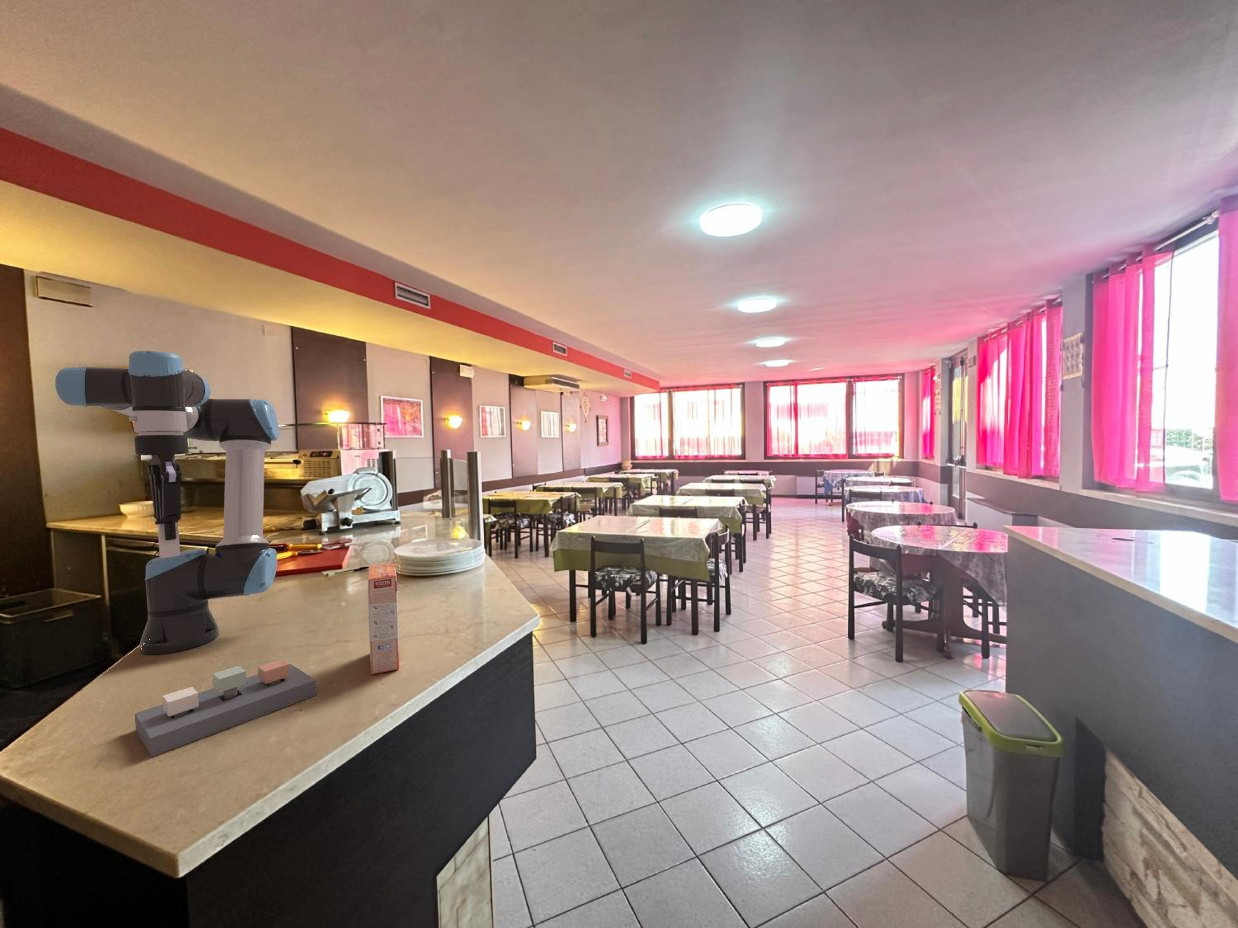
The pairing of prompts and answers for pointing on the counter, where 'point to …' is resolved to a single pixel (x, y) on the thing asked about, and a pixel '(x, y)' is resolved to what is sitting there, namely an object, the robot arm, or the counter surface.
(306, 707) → the counter surface
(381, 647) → the cracker box
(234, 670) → the key sage
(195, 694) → the key ivory
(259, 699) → the console
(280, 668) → the key terracotta
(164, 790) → the counter surface
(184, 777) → the counter surface
